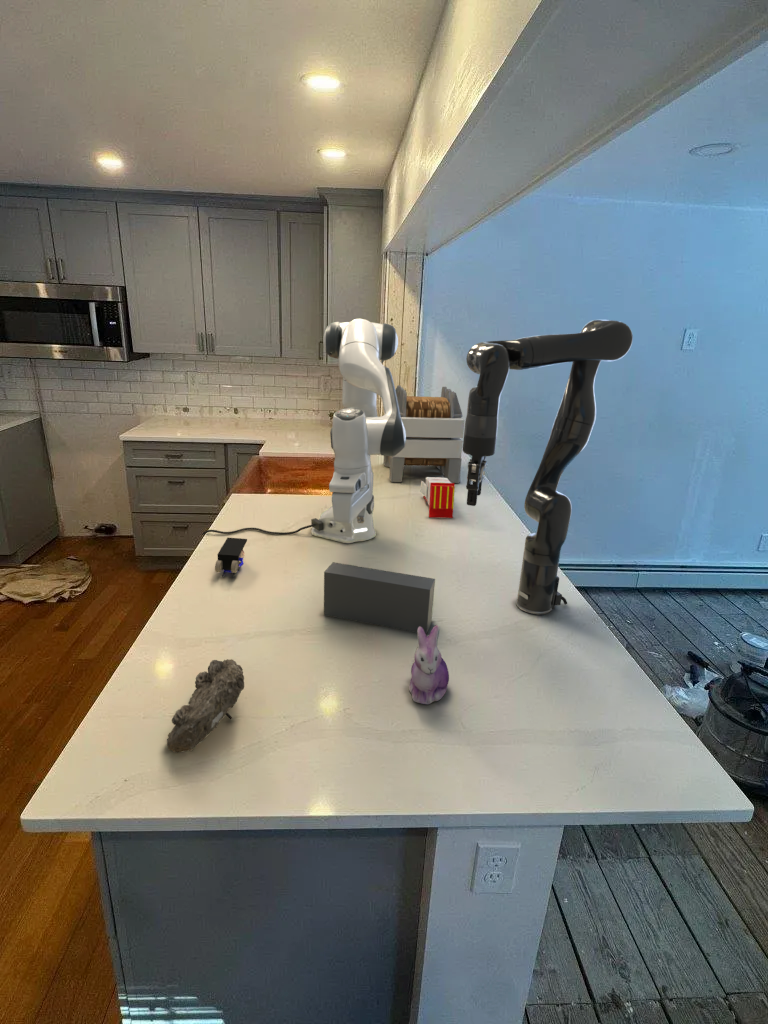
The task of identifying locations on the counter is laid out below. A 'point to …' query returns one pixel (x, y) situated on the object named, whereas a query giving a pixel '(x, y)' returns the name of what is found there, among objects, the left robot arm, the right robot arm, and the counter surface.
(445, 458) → the transformer
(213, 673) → the fossil
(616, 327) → the right robot arm
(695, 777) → the counter surface
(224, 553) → the black toy vehicle
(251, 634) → the counter surface
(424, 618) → the box
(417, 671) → the figurine
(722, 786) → the counter surface
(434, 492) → the toy
